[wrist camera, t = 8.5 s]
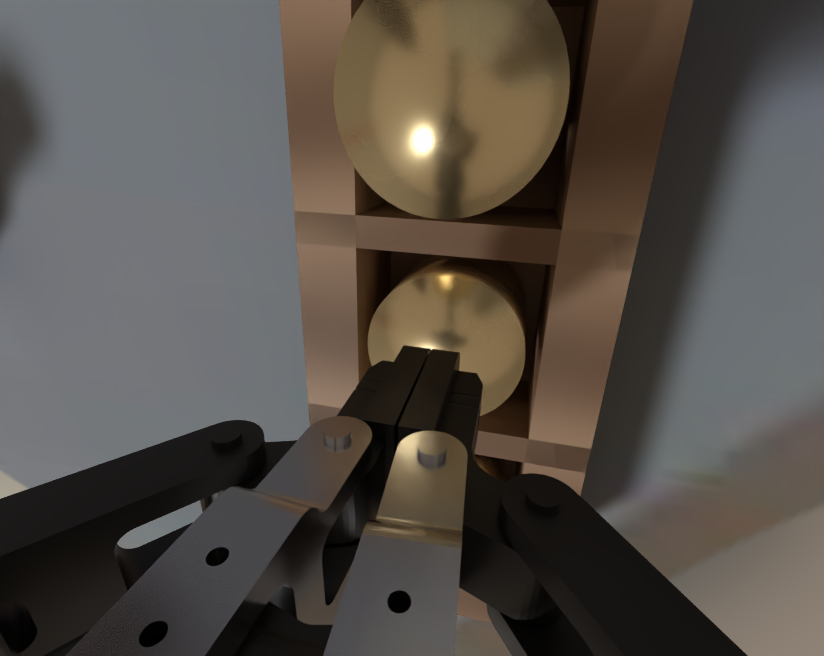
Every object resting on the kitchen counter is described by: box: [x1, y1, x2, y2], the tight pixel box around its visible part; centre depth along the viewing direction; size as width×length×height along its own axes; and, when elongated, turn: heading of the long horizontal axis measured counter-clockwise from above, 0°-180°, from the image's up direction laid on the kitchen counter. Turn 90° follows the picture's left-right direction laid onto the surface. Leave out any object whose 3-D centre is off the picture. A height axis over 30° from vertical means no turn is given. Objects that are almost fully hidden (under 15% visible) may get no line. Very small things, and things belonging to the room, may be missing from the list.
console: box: [279, 0, 693, 623], centre depth 17 cm, size 25×10×5 cm, turn 178°
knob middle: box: [368, 254, 526, 416], centre depth 16 cm, size 5×5×4 cm
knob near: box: [334, 0, 570, 219], centre depth 11 cm, size 5×5×4 cm
